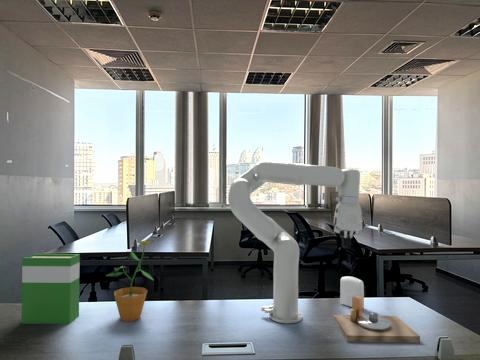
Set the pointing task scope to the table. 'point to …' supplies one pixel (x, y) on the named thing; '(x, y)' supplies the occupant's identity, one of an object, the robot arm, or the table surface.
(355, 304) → the flange plate
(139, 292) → the potted plant
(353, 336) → the walnut board
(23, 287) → the hardback book
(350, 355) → the table surface
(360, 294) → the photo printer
